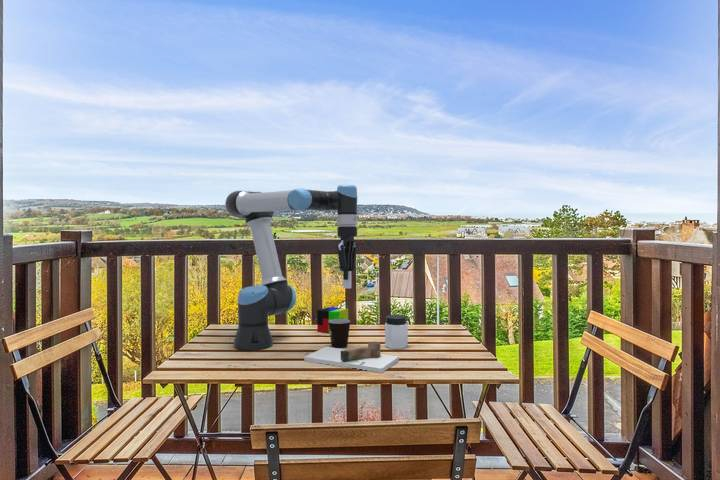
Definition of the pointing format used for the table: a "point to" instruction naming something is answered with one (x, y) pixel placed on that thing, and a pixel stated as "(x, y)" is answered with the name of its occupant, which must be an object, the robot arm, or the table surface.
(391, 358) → the board
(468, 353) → the table surface
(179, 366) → the table surface
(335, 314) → the puzzle toy
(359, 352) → the peg pointer
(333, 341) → the coffee mug
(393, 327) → the jar
